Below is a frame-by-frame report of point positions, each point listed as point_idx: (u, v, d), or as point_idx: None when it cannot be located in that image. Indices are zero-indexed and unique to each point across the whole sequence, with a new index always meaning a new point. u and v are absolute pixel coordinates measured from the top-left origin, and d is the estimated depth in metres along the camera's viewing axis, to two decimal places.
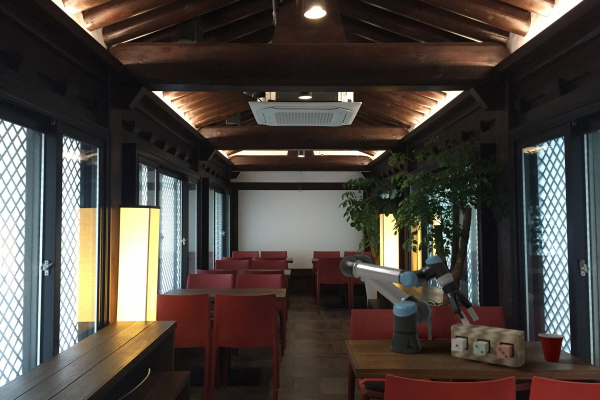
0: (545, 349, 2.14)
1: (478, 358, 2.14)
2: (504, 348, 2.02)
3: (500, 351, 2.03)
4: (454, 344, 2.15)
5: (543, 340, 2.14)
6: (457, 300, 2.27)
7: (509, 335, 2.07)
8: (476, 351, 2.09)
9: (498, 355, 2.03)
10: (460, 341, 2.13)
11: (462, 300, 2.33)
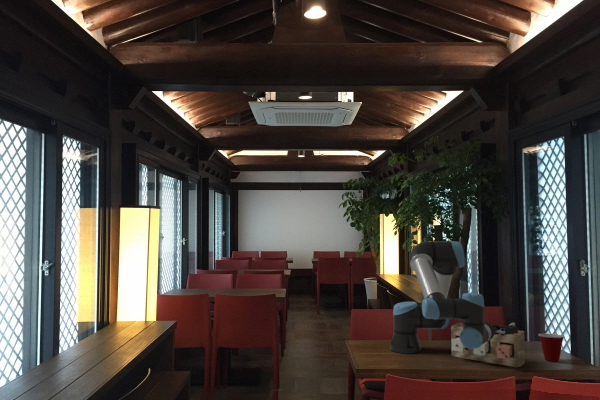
0: (545, 349, 2.14)
1: (478, 358, 2.14)
2: (504, 348, 2.02)
3: (500, 351, 2.03)
4: (454, 344, 2.15)
5: (543, 340, 2.14)
6: None
7: (509, 335, 2.07)
8: (476, 351, 2.09)
9: (498, 355, 2.03)
10: (460, 341, 2.13)
11: None
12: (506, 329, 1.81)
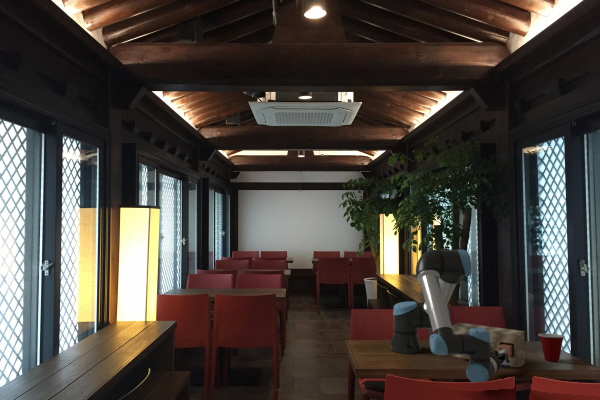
0: (545, 349, 2.14)
1: None
2: (505, 347, 2.03)
3: None
4: None
5: (543, 340, 2.14)
6: None
7: (509, 335, 2.07)
8: None
9: None
10: None
11: None
12: (508, 360, 1.88)
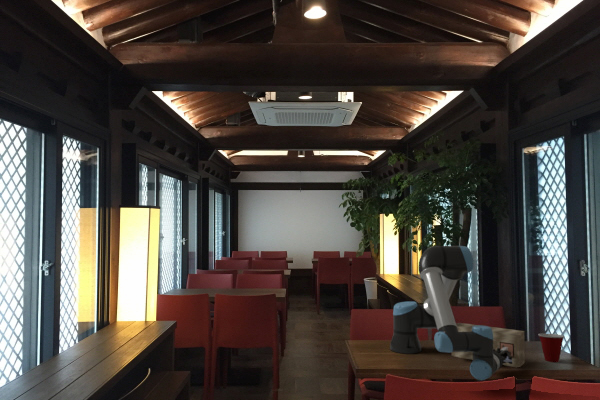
0: (545, 349, 2.14)
1: None
2: (508, 345, 2.06)
3: None
4: None
5: (543, 340, 2.14)
6: None
7: (509, 335, 2.07)
8: None
9: None
10: None
11: None
12: (510, 357, 1.92)
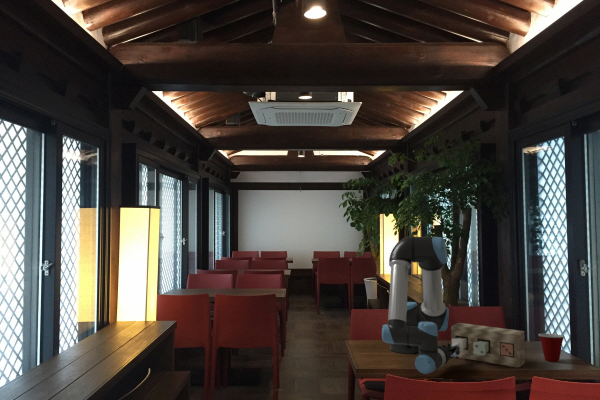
0: (545, 349, 2.14)
1: (478, 358, 2.14)
2: (508, 345, 2.07)
3: (504, 348, 2.07)
4: None
5: (543, 340, 2.14)
6: None
7: (509, 335, 2.07)
8: (476, 351, 2.09)
9: (502, 352, 2.08)
10: (460, 341, 2.14)
11: None
12: (458, 352, 2.00)
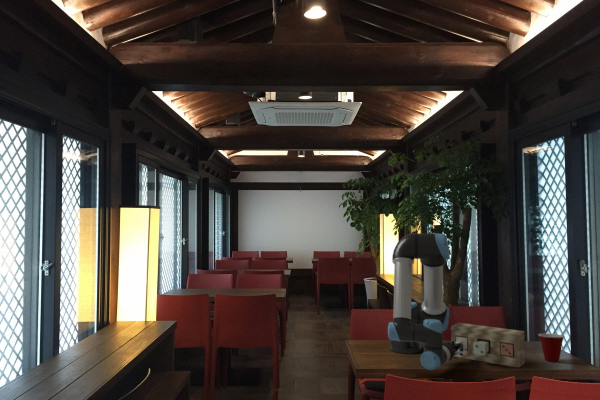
0: (545, 349, 2.14)
1: (478, 358, 2.14)
2: (508, 345, 2.07)
3: (504, 348, 2.07)
4: None
5: (543, 340, 2.14)
6: None
7: (509, 335, 2.07)
8: (476, 351, 2.09)
9: (502, 352, 2.08)
10: (465, 338, 2.18)
11: None
12: (462, 349, 2.05)
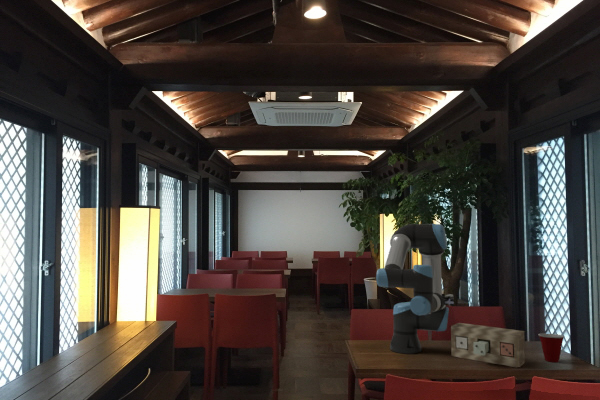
0: (545, 349, 2.14)
1: (478, 358, 2.14)
2: (508, 345, 2.07)
3: (504, 348, 2.07)
4: (459, 341, 2.20)
5: (543, 340, 2.14)
6: None
7: (509, 335, 2.07)
8: (476, 351, 2.09)
9: (502, 352, 2.08)
10: (465, 338, 2.18)
11: None
12: None
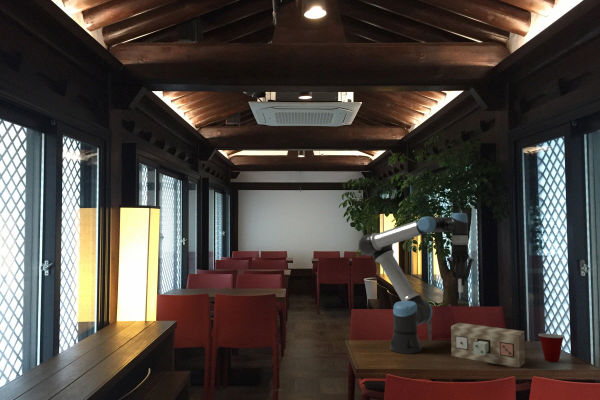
0: (545, 349, 2.14)
1: (478, 358, 2.14)
2: (508, 345, 2.07)
3: (504, 348, 2.07)
4: (459, 341, 2.20)
5: (543, 340, 2.14)
6: (456, 265, 2.30)
7: (509, 335, 2.07)
8: (476, 351, 2.09)
9: (502, 352, 2.08)
10: (465, 338, 2.18)
11: None
12: (471, 264, 2.27)
